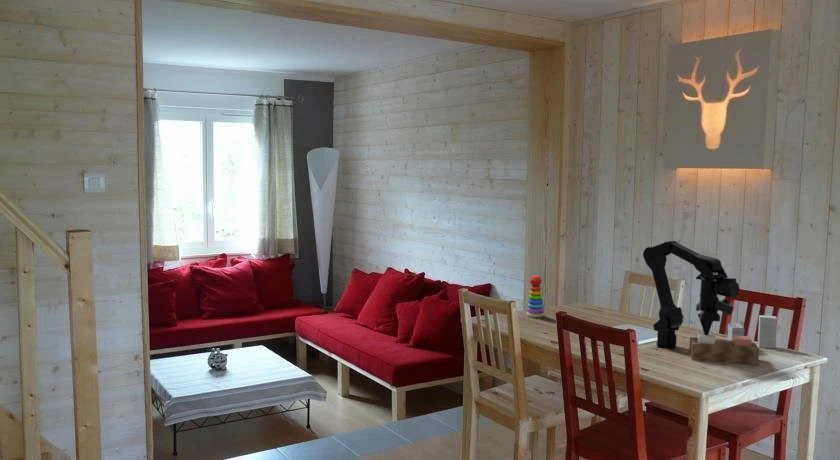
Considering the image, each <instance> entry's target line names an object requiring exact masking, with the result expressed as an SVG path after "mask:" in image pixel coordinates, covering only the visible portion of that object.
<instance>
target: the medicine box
mask: <svg viewBox="0 0 840 460" xmlns="http://www.w3.org/2000/svg"><path fill="white" fill-rule="evenodd" d="M733 335H738V336H745V327H744V326H742V324H740V323H734V322H733V323H730V322H729V323H728V325H727V337H726V338H727V339H726V340H732V336H733Z"/></svg>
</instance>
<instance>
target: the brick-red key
mask: <svg viewBox="0 0 840 460" xmlns="http://www.w3.org/2000/svg"><path fill="white" fill-rule="evenodd" d="M751 342H753V340H752V338H751V336H749V335H744V336H738V335H733V336H732V344H733V346H743V347H751Z"/></svg>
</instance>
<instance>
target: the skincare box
mask: <svg viewBox="0 0 840 460" xmlns="http://www.w3.org/2000/svg"><path fill="white" fill-rule="evenodd" d="M777 329H778V318H777V316H776V315H775V316H774V315H762V314H761V315H760V314H759V315H758V330H757V331H758V333H757V347H758V348H763V349H764V348H765V349H776V346H777Z"/></svg>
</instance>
